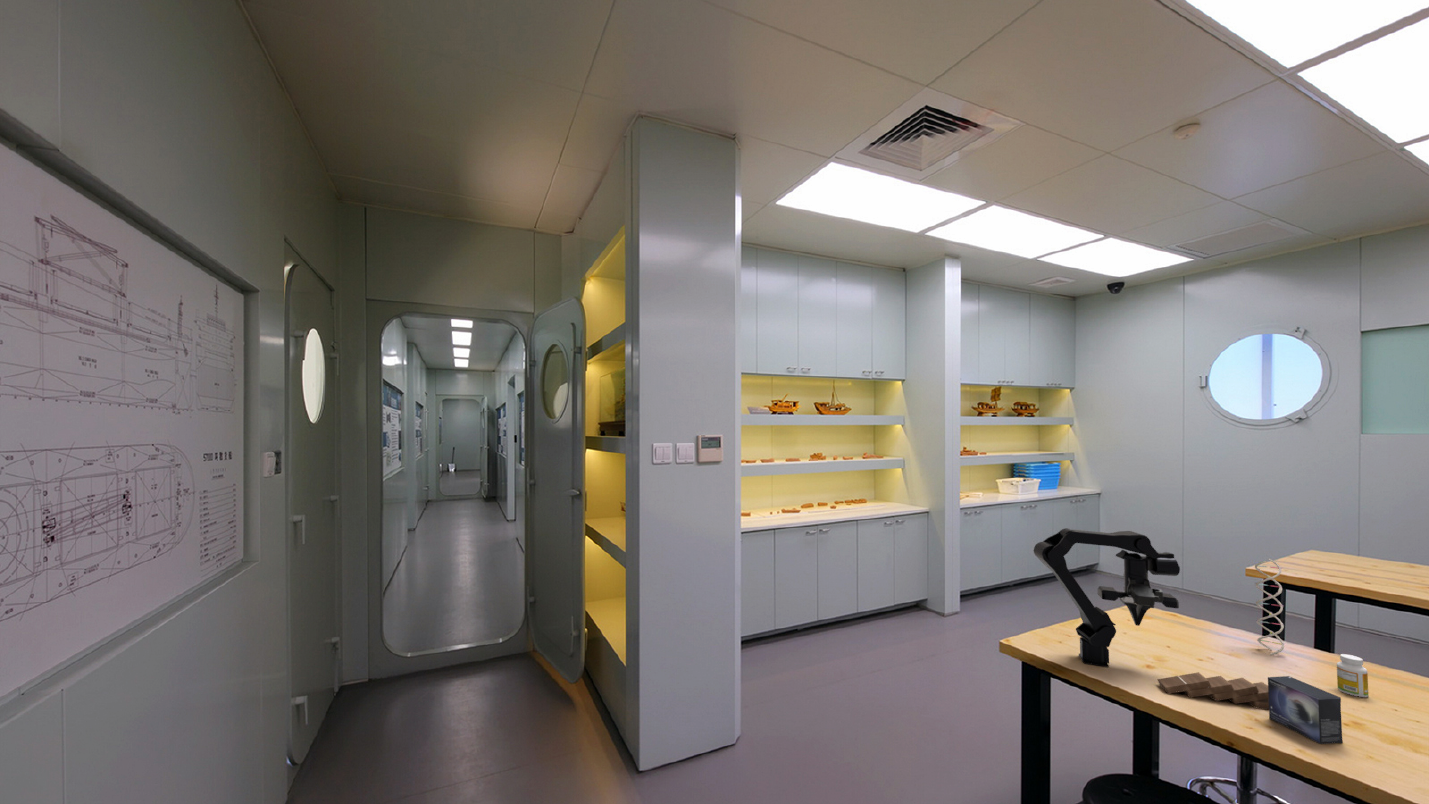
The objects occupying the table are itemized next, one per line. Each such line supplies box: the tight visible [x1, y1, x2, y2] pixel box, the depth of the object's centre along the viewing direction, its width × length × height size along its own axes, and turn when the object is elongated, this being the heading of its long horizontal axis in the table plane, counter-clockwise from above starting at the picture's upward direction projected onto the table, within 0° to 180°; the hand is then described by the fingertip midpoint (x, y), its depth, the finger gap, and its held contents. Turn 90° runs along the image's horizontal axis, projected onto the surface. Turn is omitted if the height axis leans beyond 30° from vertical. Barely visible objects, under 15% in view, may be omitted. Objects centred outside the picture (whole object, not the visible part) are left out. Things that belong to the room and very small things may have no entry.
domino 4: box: [1227, 681, 1269, 705], centre depth 137 cm, size 2×5×10 cm
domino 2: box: [1183, 675, 1234, 698], centre depth 140 cm, size 2×5×10 cm
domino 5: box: [1248, 699, 1269, 711], centre depth 135 cm, size 2×5×10 cm
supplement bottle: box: [1336, 653, 1369, 698], centre depth 143 cm, size 5×5×10 cm
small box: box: [1267, 675, 1343, 745], centre depth 125 cm, size 11×6×10 cm, turn 5°
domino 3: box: [1208, 677, 1259, 702], centre depth 138 cm, size 2×5×10 cm
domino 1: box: [1157, 672, 1211, 694], centre depth 142 cm, size 2×5×10 cm
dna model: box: [1254, 557, 1285, 656], centre depth 169 cm, size 7×6×30 cm
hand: (1137, 625), depth 158 cm, fingers closed
